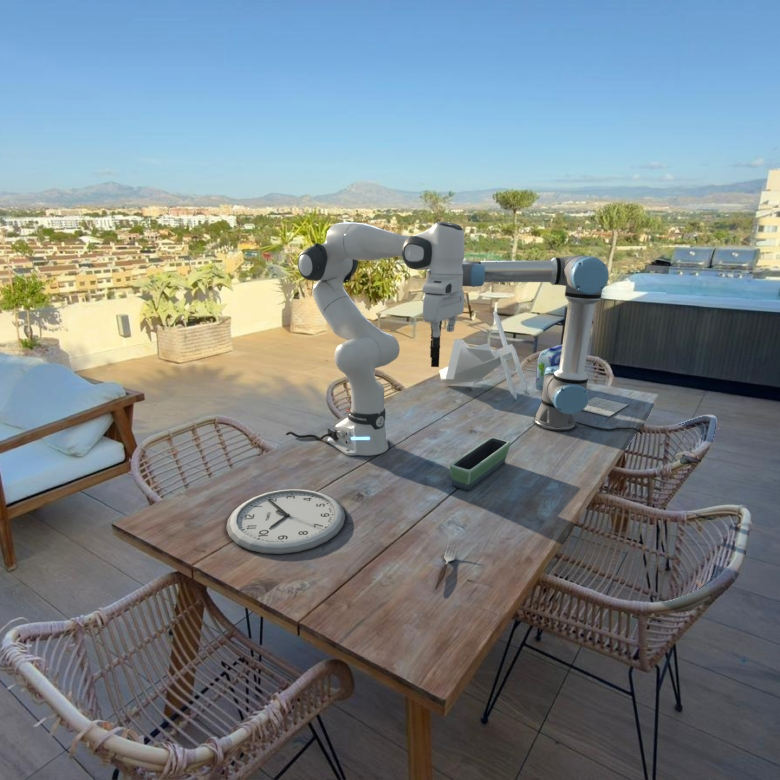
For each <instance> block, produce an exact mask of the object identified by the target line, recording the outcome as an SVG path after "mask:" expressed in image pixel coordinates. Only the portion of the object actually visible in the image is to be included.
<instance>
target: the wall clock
mask: <svg viewBox="0 0 780 780" xmlns="http://www.w3.org/2000/svg"><path fill="white" fill-rule="evenodd" d="M345 520H346V515H345V511H344V508H343V507H342V505H341V504H340V503H339V502H338V501H337V500H336V499H334V498H333V497H331V496H329V495H327V494H324V493H322V492H319V491H315V490H309V489H298V488H297V489H295V488H292V489H289V488H288V489H280V490H279V489H278V490H274V491H270V492H269V491H268V492H265V493H262V494H260V495H257V496H254V497H252V498H250V499H248V500H246V501H245V502H243V503H241V504H240V505H239V506H237V508H236V509H234V510H233V511H232V512H231V514H230V516H229V517H228V519H227V522H226V531H227V534H228V537H229V538H230V539H231V540H232V541H233V542H234V543H235V544H236V545H238V546H240V547H242V548H244V549H246V550H248V551H253V552H256V553H261V554H271V555H273V554H274V555H281V554H282V555H283V554H291V553H300V552H303V551H306V550H311V549H314V548H316V547H318V546H320V545H322V544H325V543H328V541H330V540H332V538H334V537H335V536H336V535H338V533H339V532H340V531H341V530H342V528H343V527H344V524H345Z"/></svg>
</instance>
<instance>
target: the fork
mask: <svg viewBox="0 0 780 780" xmlns="http://www.w3.org/2000/svg"><path fill="white" fill-rule="evenodd" d="M449 546H450V547H449ZM452 546H453V547H452ZM455 546H456V543H454V545H453V543H451V544H450V542H448V544H447V547H446V550H445V552H444V556H443V557H444V558H443V559H444V560H445V564H444V565H443V567H442V568H441V569H440V571H439V573H438V578H437V581H436V584H435V588H434V589H435V590H437V589H438V587H439V585H440V584H441V582H442V580H443V579H444V577H445V575H446V572H447V568H448V564H449V563H450V562H453V561H455V560H456V557H457V552H458V549H459V544H457V546H456V548H455Z"/></svg>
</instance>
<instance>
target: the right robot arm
mask: <svg viewBox="0 0 780 780" xmlns="http://www.w3.org/2000/svg"><path fill="white" fill-rule="evenodd" d="M462 269H463V283H462V287H471V288H474V287H483V286H484V283H550V285H552V286H564V287H565V290H564V298H565V299H566V300H567V308H566V309H567V310H566V316H565V317H566V318H565V324H564V330H563V338H562V344H561V345H562V351H561V358H560V365H559V367H556V366H554V367H547V368H546V369H545V373H544V382H543V391H541V392H542V394H541V402H540V405H539V407H538V410H537V411H536V413H535V415H534V417H533V419H534V424H535V425H536V426H537V427H539V428H542V429H544V430H549V431H556V432H567V431H572V430H574V429H575V428H576V425H580V426H584V427H587V428H592V429H595V430H600V431H601V430H602V431H616V430H632V431H636V432H638V433H639V434H640V435H643V434H644V433H643V432H642V431H641V430H640V429H639V428H636V427H621V426H618V427H612V428H607V427H599V426H594V425H591V424H586V423H583V422H578V421H576V418H575V417H576V416H575V414H578V413H580V412H581V411H584V410H583V409H584V408H585V407H586V406H587V404H588V400H590V397H589V392H588V390H587V388H588V387H587V386H588V381H589V376H588V374H587V373H586V372H585V371H586V370H585V369H586V364H587V359H588V351H589V345H590V338H591V332H592V326H593V319H594V315H595V307H596V303H598V302H599V301H601V300H602V295H603V294H602V293H603V290H604V288H605V287H606V286H607V284H608V281H609V278H610V274H609V273H610V272H609V269H608V267H607V264H606V263H605V262H604V261H602V260H601V259H600V258H598V257H597V256H591V255H584V254H578V255H570V256H561V257H560V256H559V257H553V258H552V259H550V260H481V261H479V260H478V261H477V260H476V261H475V260H473V261H470V260H463V263H462ZM430 276H431V270H430V269H428V270H426V282H427V281H428V280H429V278H430ZM425 294H426V293H424V295H425ZM442 325H443V321H440V325H439V329H440V330H441V331H442ZM430 331H431V332H430V346H429V349H430V350H429V358H430V367H431V368H440V353H441V351H440V350H441V336H440V337H433V330H432V327H431V326H430Z"/></svg>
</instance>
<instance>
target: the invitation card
mask: <svg viewBox="0 0 780 780" xmlns="http://www.w3.org/2000/svg"><path fill="white" fill-rule="evenodd" d="M628 406H629V404H627V403H623V402H618V401H614V400H609V399H605V398H601V397H596V396H593V397H592V398H589V400H588V404H587V406H586V407H585V408H584V409H583V410H582V411H584V412H587V413H593V414H596V415H600V416H604V417H608V418H609V417H611V416H613V415H614V414H616V413H617V412H619V411H621V410H623V409H624V408H626V407H628Z"/></svg>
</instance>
